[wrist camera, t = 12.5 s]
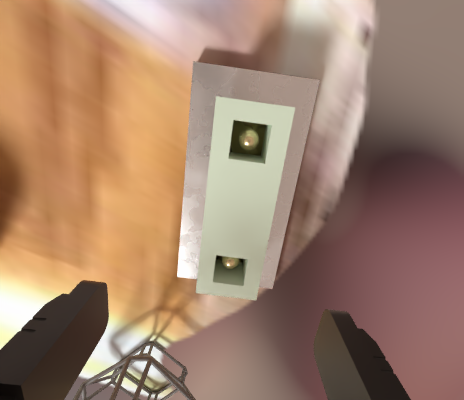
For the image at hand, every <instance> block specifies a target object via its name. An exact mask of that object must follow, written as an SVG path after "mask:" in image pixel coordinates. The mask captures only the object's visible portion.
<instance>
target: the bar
mask: <svg viewBox="0 0 464 400" xmlns="http://www.w3.org/2000/svg"><path fill="white" fill-rule="evenodd" d="M294 112H295V107H288V106H281V105H274V104H267V103H260V102H253V101H246V100H239V99H232V98H225V97H218V96H216V102H215V112H214V121H213V131H212V141H211V150H210V160H209V170H208V179H207V189H206V199H205V208H204V218H203V228H202V237H201V247H200V256H199V266H198V276H197V285H196V293H200V294H208V295H216V296H224V297H232V298H240V299H248V300H256V299H257V294H258V289H259V284H260V279H261V274H262V270H263V265H264V260H265V255H266V250H267V245H268V240H269V235H270V230H271V225H272V220H273V215H274V210H275V205H276V200H277V196H278V191H279V186H280V181H281V176H282V171H283V166H284V161H285V156H286V151H287V146H288V141H289V136H290V131H291V126H292V122H293V117H294ZM234 120H237V121H244V122H251V123H258V124H266V128H265V134H264V140H263V146H262V152H261V156H258V155H250V154H243V153H236V152H230V147H231V139H232V131H233V123H234ZM216 255H218V256H226V257H234V258H242V259H243V263H241V262H239V264H238V265H237V267H235V268H233V269H228V268H226V267H225V266H224V265H223V264H222V260H217V259H216Z"/></svg>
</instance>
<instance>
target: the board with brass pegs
mask: <svg viewBox="0 0 464 400" xmlns="http://www.w3.org/2000/svg"><path fill="white" fill-rule="evenodd" d="M319 82H320V80H317V79H310V78H303V77H296V76H290V75H283V74H276V73H269V72H262V71H256V70H249V69H242V68H235V67H228V66H222V65H215V64H208V63H201V62H194V61H193V73H192V86H191V100H190V113H189V127H188V140H187V153H186V167H185V180H184V194H183V207H182V221H181V234H180V247H179V261H178V274H177V277H183V278H191V279H197V276H198V266H199V256H200V247H201V237H202V228H203V218H204V208H205V199H206V189H207V179H208V170H209V160H210V150H211V141H212V131H213V121H214V112H215V102H216V96H218V97H225V98H232V99H239V100H246V101H253V102H260V103H267V104H274V105H281V106H288V107H295V112H294V117H293V122H292V126H291V131H290V136H289V141H288V146H287V151H286V156H285V161H284V166H283V171H282V176H281V181H280V186H279V191H278V196H277V200H276V205H275V210H274V215H273V220H272V225H271V230H270V235H269V240H268V245H267V250H266V255H265V260H264V265H263V270H262V274H261V279H260V284H259V287H262V288H269V289H272V288H273V285H274V280H275V276H276V271H277V267H278V263H279V258H280V254H281V249H282V245H283V241H284V236H285V232H286V227H287V223H288V219H289V214H290V210H291V205H292V201H293V197H294V192H295V188H296V183H297V179H298V175H299V170H300V166H301V161H302V157H303V153H304V148H305V144H306V139H307V135H308V131H309V126H310V122H311V117H312V113H313V109H314V104H315V100H316V95H317V91H318V87H319ZM265 128H266V124H258V123H251V122H244V121H237V120H234V123H233V131H232V139H231V147H230V152H236V153H243V154H250V155H258V156H261V152H262V146H263V140H264V134H265ZM216 259H217V260H222V264H223V265H224V266H225V267H226V268H228V269H233V268H235V267H237V265H238V264H239V262H241V263H243V259H242V258H234V257H226V256H218V255H216Z"/></svg>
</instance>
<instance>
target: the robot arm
mask: <svg viewBox="0 0 464 400" xmlns="http://www.w3.org/2000/svg"><path fill="white" fill-rule="evenodd" d="M108 317H109V312H108V292H107V284H106V283H103V282H95V281H86V280H83V281H81V282H80V283H79V284H78V285H77V286H76V287H75V288H74V289H73V290H72V292H71V293H70V294H61V295H60V296H58V297H56V298H55V299H53V300H52V301H50V302H48V303H47V304H45V305H44V306H43V307H42V308H41V309H40V310H39V311H38V312H37V313H36V314H35V315H34V316H33V319H32V320H29V322H28V323H27V324H26V325H25V326H24V327H23V328H22V330H21V331H19V332H18V333H17V334H16V335H15V336H14V337H13V338H12V339H11V340H10V341H9V342H8V343H7V344H6V345H5V346H4V347H3V348H2V349H1V350H0V400H64V399H65V397H66V396H67V394H68V392H69V390H70V389H71V387H72V385H73V384H74V382H75V381H76V379H77V377H78V376H79V374H80V372H81V371H82V369H83V367H84V366H85V364H86V362H87V361H88V359H89V357H90V356H91V354H92V352H93V351H94V349H95V347H96V346H97V344H98V342H99V341H100V339H101V337H102V336H103V334H104V332H105V329H106V327H107V323H108ZM314 355H315V360H316V363H317V366H318V369H319V373H320V376H321V379H322V382H323V385H324V389H325V392H326V395H327V398H328V400H411V399H410V398H409V396H408V394H407V393H406V391H405V389H404V388H403V386H402V384H401V383H400V381H399V379H398V378H397V376H396V375H395V374H394V373H393V369H392V368H391V366H390V364H389V363H388V362H387V361H386V360H385V356H384V355H383V353H382V351H381V350H380V348H379V346H378V345H377V343H376V342H375V341H374V340H373V339H372V338H371V337H370V336H369V335H368V334H367V333H366V332H365V331H364V330H363V329H358V328H357V327H356V325H355V323H354V321H353V319H352V318H351V316H350V314H349V313H347V312H345V311H336V310H328V309H326V310H325V311H324V312H323V314H322V318H321V321H320V324H319V327H318V330H317V333H316V336H315V340H314Z"/></svg>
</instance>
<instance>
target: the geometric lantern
mask: <svg viewBox="0 0 464 400" xmlns="http://www.w3.org/2000/svg"><path fill="white" fill-rule="evenodd" d="M146 346H150V349H149V352H148V354H147V353H143V352H144V349H145V347H146ZM153 346H154V347H156V348H157V349H158V350H159V351H161V352H162V353H163V354H165V355H166V356H167V357H169V358H170V359H171V360H172V361H174V362H175V363H176V364H178V365H179V366H180V367H181V368H183V371H182V375H181V376H180V377H179V378H177V377H176V376H175V375H174V374H172V373H171V372H170V371H169V370H167V369H166V368H165V367H164V366H163V365H162V364H160V363H159V362H158V361H157V360H156V359H154V358H153V357H152V356H151V355H150V354H151V351H152V348H153ZM141 349H142V350H141ZM140 350H141V352H140V354H139V355H135V354H136V353H137V352H139V351H140ZM133 355H135V356H133ZM130 361H131V362H130ZM135 361H148V362H147V364H146V367H145V369H144V372H143V374H142V377H141V379H140V382H139V383H138V382H137V381H135V380H134V379H133V378H131V377H130V376H128V375H127V374H126V371H127V368H128V366H130V365H131V364H133V363H134V362H135ZM123 364H124V367H123V368H121V369H120V366H121V365H123ZM151 364H152V365H153V366H154V367H155V368H156V369H157V370H158V371H159V372H160V373H161V374H162V375H163V376H164V377H165V378H166V379H167V380H168V381H169V382H170V384H168V385H167V386H165V387H164V388H162V389H161V390H159V391H153V392H151V391H150V390H148V389H147V388H145V387H144V386H143V384H144V382H145V379H146V376H147V374H148V371H149V368H150V366H151ZM114 369H115V370H114ZM117 369H118V371H117ZM113 370H114V372H113V374H112V375H110V376H107V377H103V378H100V377H102V376H104V375H106V374H107V373H109V372H111V371H113ZM119 373H120V376H119V379H118V381H117V383H116V382H115V381H116V379H117V377H118V375H119ZM184 373H185V374H184ZM187 374H188V373H187V369H186V367H185V366H183V365H182V364H181V363H180V362H178V361H177V360H176V359H174V358H173V357H172V356H171V355H169V354H168V353H167V352H165V351H164V350H163V349H162V348H160V347H159V346H158V345H157V344H155V343H154V342H152V343H145V344H144V345H142V346H141V347H140V348H138V349H137V350H136V351H134V352H133V353H132V354H130V355H129V356H128V357H126V358H125V359H123V360H122V361H120V362H118V363H116V364H115V365H113V366H111V367H109V368H108V369H106V370H104V371H102V372H101V373H99V374H97V375H95V376H94V377H92V378H90V379H88V380H87V381H85V382H83V383H82V384H81V386H80V388H79V390H78V391H77V393H76V395H75V397H74V399H73V400H78V398H79V396H80V394H81V393H82V400H90V399H91V398H92V397H93V396H95V395H96V394H98V393H99V392H101V391H102V390H103V389H105V388H106V387H108V386H109V385H110V384H113V385H115V388H114V391H113V393H112V395H111V398H110V400H115V398H116V396H117V393H118V391H119V389H120V390H122V391H123V392H125V393H126V394H128V395H129V396H130V397H132V398H133V400H140V399H139V398H138V397H139V395H140V392H141V390H142V389H143V390H144V391H146V392H147V393H149V396H148V399H147V400H150V397H151V394H156V395H155V398H154V400H156V399H157V396H158V394H160V393H161V392H163V391H164V390H166V389H167V388H169V387H170V386H172V385H173V386H174V387H176V388H177V389H175V390H174V391H172V392H171V393H170V394H168V395H167V396H165V397H164V398H162V399H161V400H166V399H167V398H169V397H170V396H172V395H173V394H175V393H176V392H177V391H180V392H181V393H182V394H183V395H184V396H185V397H186V398H187V400H196V399H195V398H194V397H193V395H192V394H191V393H190V391H189V390H188V388H187V387H186V386H185V384H184V381H185V377H186V375H187ZM124 376H125V377H126V378H127V379H129V380H130V381H132V382H133V383H135V384H136V385H137V386H138V387H137V389H136V392H135V395H133V394H132V393H130V392H129V391H127V390H126V389H125V388H123V387H122V386H121V384H122V381H123V378H124ZM114 377H115V378H114ZM99 378H100V379H99ZM110 378H111V381H110V382H109V383H107V384H106V385H104V386H103V387H102V388H100V389H99V390H97V391H96V392H95V393H93V394H92V395H90V396H89V397H88V398H87V396H86V386H87V385H90V384H93V383H97V382H100V381H103V380H107V379H110ZM173 378H174V379H175V380H174V379H173ZM177 382H178V383H180V384H181V386H180V385H179V384H178V383H177Z"/></svg>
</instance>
